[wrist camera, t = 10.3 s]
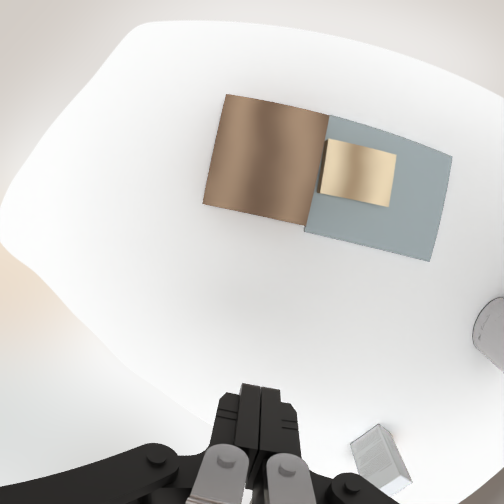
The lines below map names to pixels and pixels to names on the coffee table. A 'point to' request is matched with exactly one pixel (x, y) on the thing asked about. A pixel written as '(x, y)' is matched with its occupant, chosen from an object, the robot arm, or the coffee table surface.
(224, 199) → the block
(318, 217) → the grey mat
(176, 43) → the coffee table surface
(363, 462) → the skincare box
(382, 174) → the oak tile
